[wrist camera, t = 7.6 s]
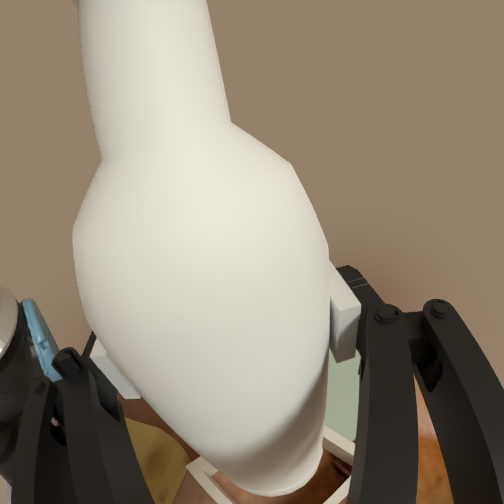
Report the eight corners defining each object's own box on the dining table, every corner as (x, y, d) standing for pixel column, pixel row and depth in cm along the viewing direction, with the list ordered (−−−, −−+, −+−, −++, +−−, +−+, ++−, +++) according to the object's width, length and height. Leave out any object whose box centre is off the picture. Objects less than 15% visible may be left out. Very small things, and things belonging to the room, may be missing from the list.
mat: (268, 390, 34) (267, 388, 34) (330, 332, 41) (330, 330, 41) (348, 445, 24) (349, 444, 24) (404, 369, 31) (405, 366, 31)
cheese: (168, 521, 17) (121, 507, 13) (103, 485, 21) (53, 457, 16) (197, 457, 26) (163, 426, 21) (132, 432, 29) (93, 396, 25)
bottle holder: (197, 474, 23) (184, 466, 22) (283, 408, 31) (280, 394, 29) (280, 551, 13) (275, 554, 11) (371, 466, 21) (379, 457, 19)
